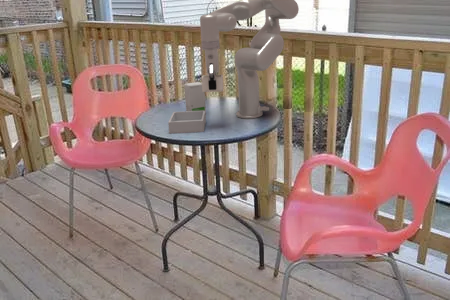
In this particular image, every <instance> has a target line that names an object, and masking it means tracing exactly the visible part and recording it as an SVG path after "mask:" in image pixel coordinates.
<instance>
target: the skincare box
mask: <svg viewBox="0 0 450 300" xmlns="http://www.w3.org/2000/svg"><path fill="white" fill-rule="evenodd" d="M183 86H184V96H185V97H184V98H185V99H184V100H185V109H186V110H185V111H205V112H206V113H207V109H206V95H205V94H206V92H202V82H200V81H198V82H197V81H196V82H187V83H184V85H183Z"/></svg>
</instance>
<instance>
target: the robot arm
mask: <svg viewBox="0 0 450 300" xmlns="http://www.w3.org/2000/svg"><path fill="white" fill-rule="evenodd" d="M299 11H300V10H299V4H298V2H297V1H296V0H238V1H235V2H232V3H228V4H225V5H224V6H221V7H219V8H217V9H215V10H213V11H211V12H210V13H209V14H202V15H200V18H199V23H200V24H199V25H200V39H201V43H200V44H201V50H202V51H204V56H205V57H204V59H205V60H204V61H205V68H206V73H207V74H208V75H209V80H208V82H209V90H216V80H215V75H217V74H219V54H218V52H219V51H218V50H219V49H220V48H221V47H220V46H221V45H220V32H231V31H233V30H234V29H235V28H236V26H237V24H238V21H245V20H248V19H251V18H253V17H254V16H256V15H257V14H259V13H261V12H264V13H265V14H264V15H265V20H264V21H265V22H264V24H263V26H262V27H261V28H260V29H259V31H258V32H257V33H256V34H255V35H254V36H253V38H252V39H251V41H250V47H242V48H239V49H238V50H237V51H236V53H235V55H234V63H235V68H236V72H237V83H238V84H237V87H238V91H237V92H238V107H239V110H238V111H237V112H236V117H237V118H240V119H246V120H247V119H248V120H249V119H256V118H260V117H262V116H263V112H269V111H270V107H269V106H265V105H264V106H261V105H260V88H259V87H260V85H259V75H258V71H259V72H263V71H266V70H268V69H269V68H270V67H271V65H272V64H273V63H274V62H275V60H277V58H278V57H279V56H280V54H281V53H282V51H283V49H284V45H285V44H284V43H285V41H284V38H283V36H282V35H281V25H280V20H293V19H295V18H296V17H297V16H298V14H299Z"/></svg>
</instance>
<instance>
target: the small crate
mask: <svg viewBox="0 0 450 300" xmlns="http://www.w3.org/2000/svg"><path fill="white" fill-rule="evenodd" d="M208 80H209V74H207V75H205V74H204V75H201V83H202V92H205V93H214V92H215V93H216V92H217V93H218V92H224V74H216V75H215V80H216V90H209V82H208Z"/></svg>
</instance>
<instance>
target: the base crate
mask: <svg viewBox="0 0 450 300" xmlns="http://www.w3.org/2000/svg"><path fill="white" fill-rule="evenodd" d="M167 123H168V132H169V134H181V133H182V134H183V133H185V134H186V133H204V132H205V126H206V123H207V111H206V112H205V111H186V110H185V111H173V112H172V113H171V116H170V117H169V120H168V122H167Z"/></svg>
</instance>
